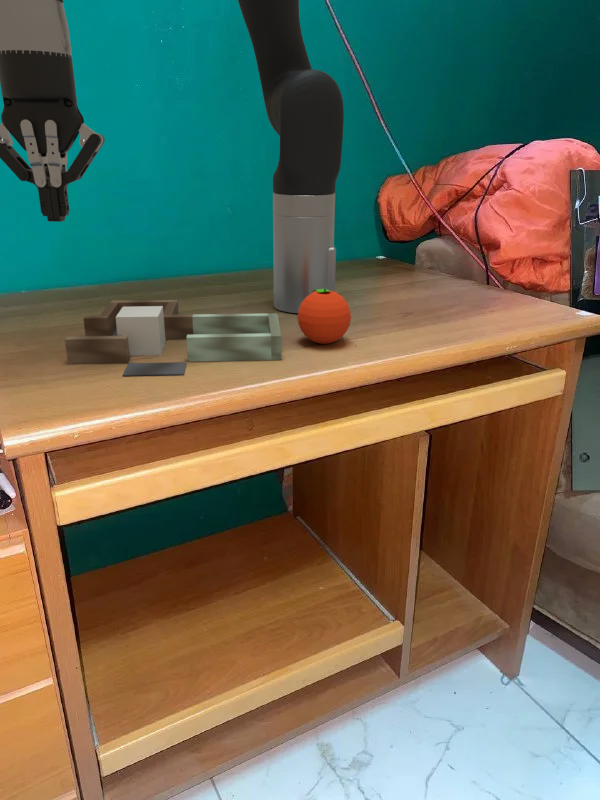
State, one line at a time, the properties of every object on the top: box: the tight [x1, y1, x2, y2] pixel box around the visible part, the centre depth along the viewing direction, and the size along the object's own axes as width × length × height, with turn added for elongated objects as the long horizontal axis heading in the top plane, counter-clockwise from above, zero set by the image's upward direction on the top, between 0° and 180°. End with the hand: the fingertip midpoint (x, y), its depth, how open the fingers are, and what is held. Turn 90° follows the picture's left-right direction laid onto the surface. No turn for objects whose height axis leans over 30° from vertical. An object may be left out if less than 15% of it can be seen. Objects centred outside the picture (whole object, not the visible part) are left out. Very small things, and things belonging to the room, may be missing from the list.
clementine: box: [297, 289, 352, 345], centre depth 82 cm, size 8×7×7 cm
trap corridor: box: [64, 299, 282, 377], centre depth 81 cm, size 25×23×3 cm
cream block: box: [116, 306, 167, 357], centre depth 79 cm, size 5×5×5 cm
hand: (56, 220), depth 73 cm, fingers closed
